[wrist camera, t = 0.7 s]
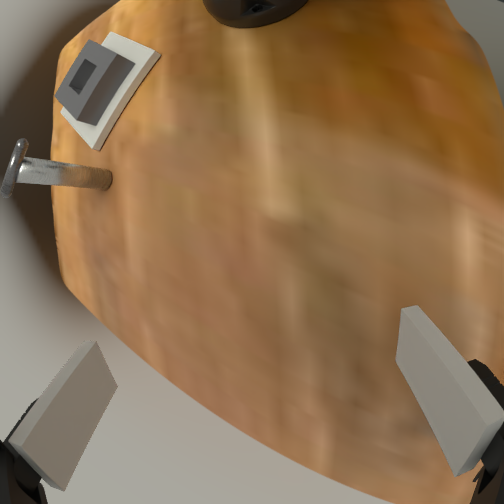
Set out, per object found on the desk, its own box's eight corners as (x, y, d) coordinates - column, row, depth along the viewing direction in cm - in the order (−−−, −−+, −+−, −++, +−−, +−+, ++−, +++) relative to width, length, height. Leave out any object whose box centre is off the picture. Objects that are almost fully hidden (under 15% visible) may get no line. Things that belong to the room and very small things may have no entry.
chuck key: (112, 152, 39) (16, 132, 24) (122, 162, 38) (21, 144, 23) (90, 195, 41) (-3, 189, 26) (98, 206, 40) (2, 203, 25)
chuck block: (116, 34, 38) (95, 22, 33) (161, 54, 35) (137, 38, 30) (66, 114, 43) (43, 107, 38) (99, 150, 40) (71, 144, 35)
